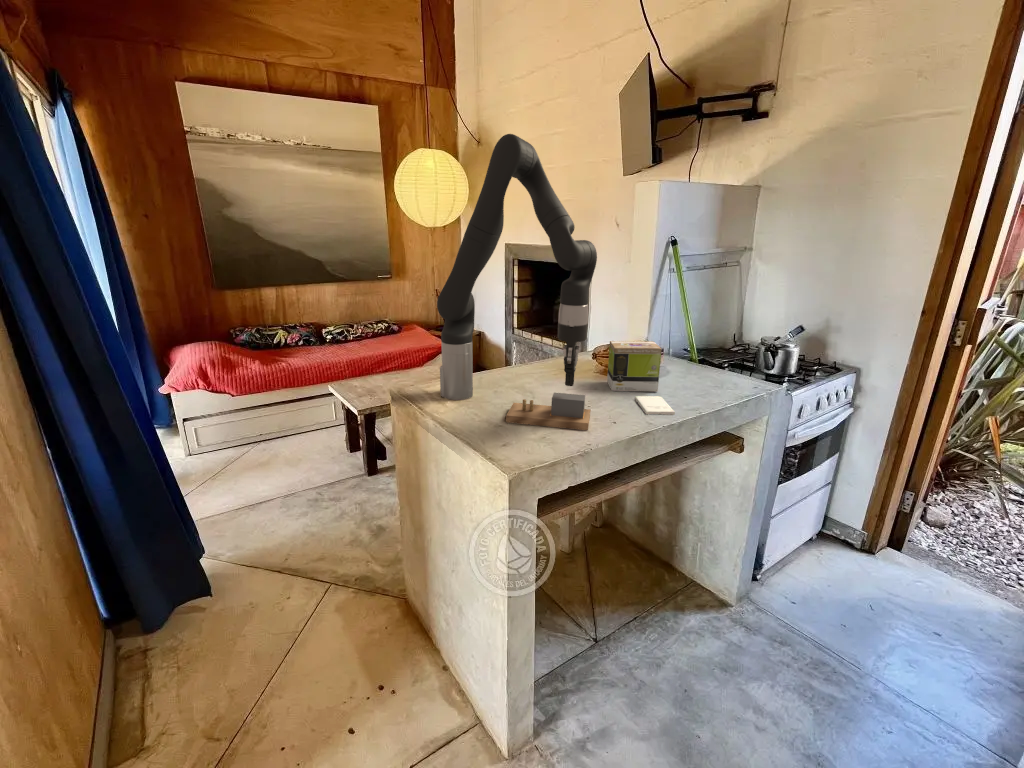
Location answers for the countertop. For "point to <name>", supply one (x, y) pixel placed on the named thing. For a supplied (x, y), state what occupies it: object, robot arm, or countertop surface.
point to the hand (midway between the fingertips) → (569, 385)
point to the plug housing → (568, 405)
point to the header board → (544, 416)
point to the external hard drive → (654, 405)
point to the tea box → (634, 366)
